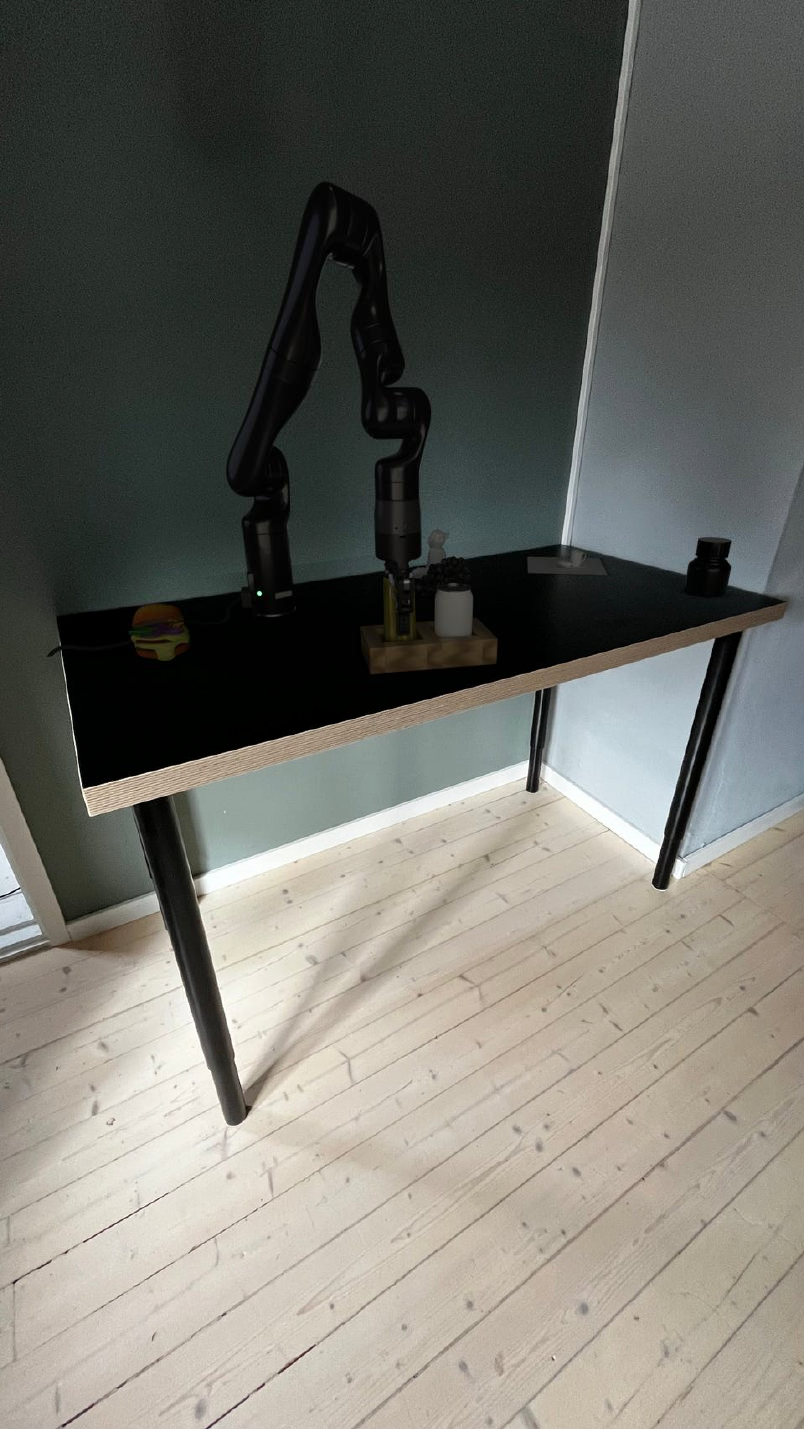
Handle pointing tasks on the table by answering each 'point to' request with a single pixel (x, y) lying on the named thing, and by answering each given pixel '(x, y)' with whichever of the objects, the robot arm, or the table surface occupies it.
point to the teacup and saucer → (566, 565)
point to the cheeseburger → (159, 632)
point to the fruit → (443, 575)
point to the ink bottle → (709, 568)
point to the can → (453, 610)
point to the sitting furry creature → (433, 551)
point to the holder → (427, 649)
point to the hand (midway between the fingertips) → (399, 629)
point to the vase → (390, 615)
